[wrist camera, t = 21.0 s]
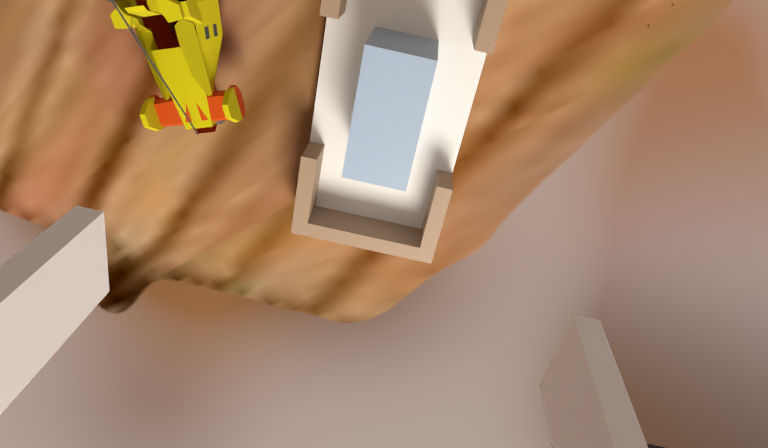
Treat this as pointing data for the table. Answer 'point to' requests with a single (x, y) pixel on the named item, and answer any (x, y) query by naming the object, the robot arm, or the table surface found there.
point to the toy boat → (181, 62)
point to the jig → (437, 136)
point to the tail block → (389, 107)
